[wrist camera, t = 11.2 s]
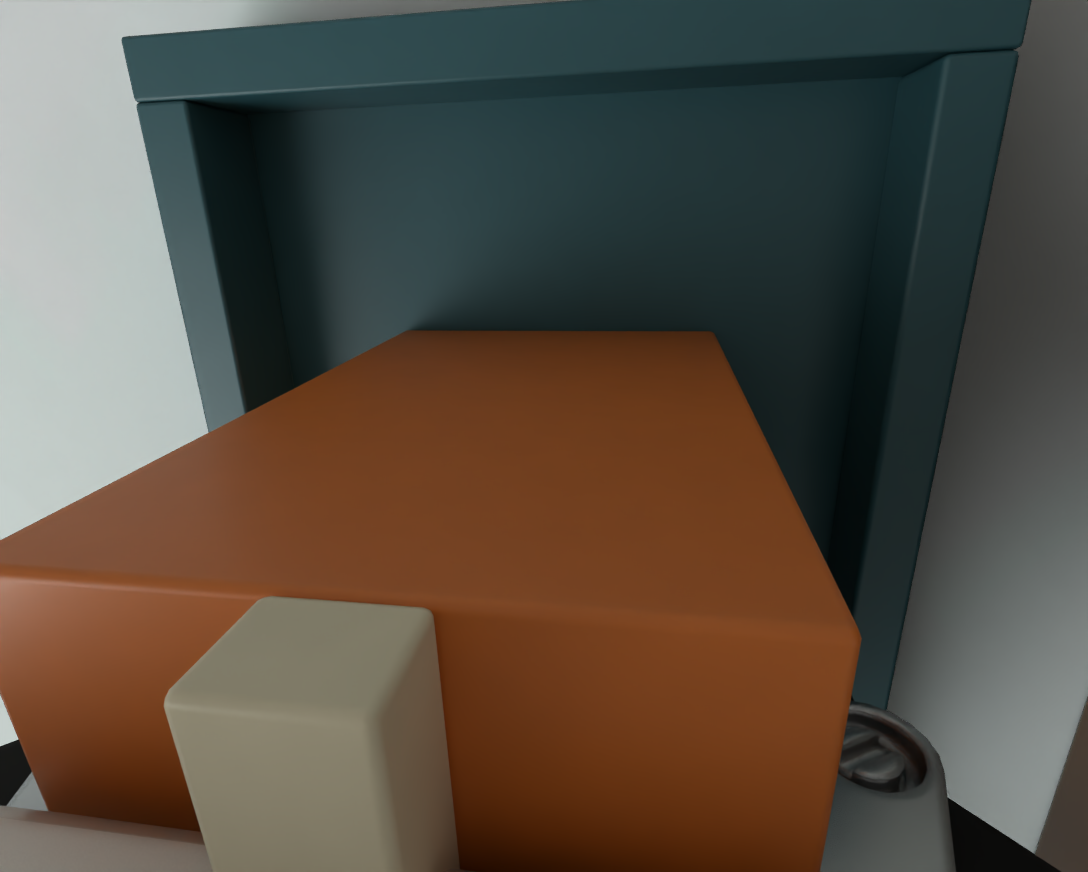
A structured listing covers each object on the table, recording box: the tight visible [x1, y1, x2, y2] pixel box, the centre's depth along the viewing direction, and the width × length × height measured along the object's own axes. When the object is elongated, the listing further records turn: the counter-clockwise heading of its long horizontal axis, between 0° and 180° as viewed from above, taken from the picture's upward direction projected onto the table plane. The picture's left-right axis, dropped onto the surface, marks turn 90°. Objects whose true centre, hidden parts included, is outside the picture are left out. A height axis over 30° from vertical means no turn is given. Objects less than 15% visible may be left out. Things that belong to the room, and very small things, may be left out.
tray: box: [122, 0, 1031, 710], centre depth 11 cm, size 17×11×2 cm
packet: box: [0, 330, 862, 872], centre depth 8 cm, size 8×5×8 cm, turn 2°
